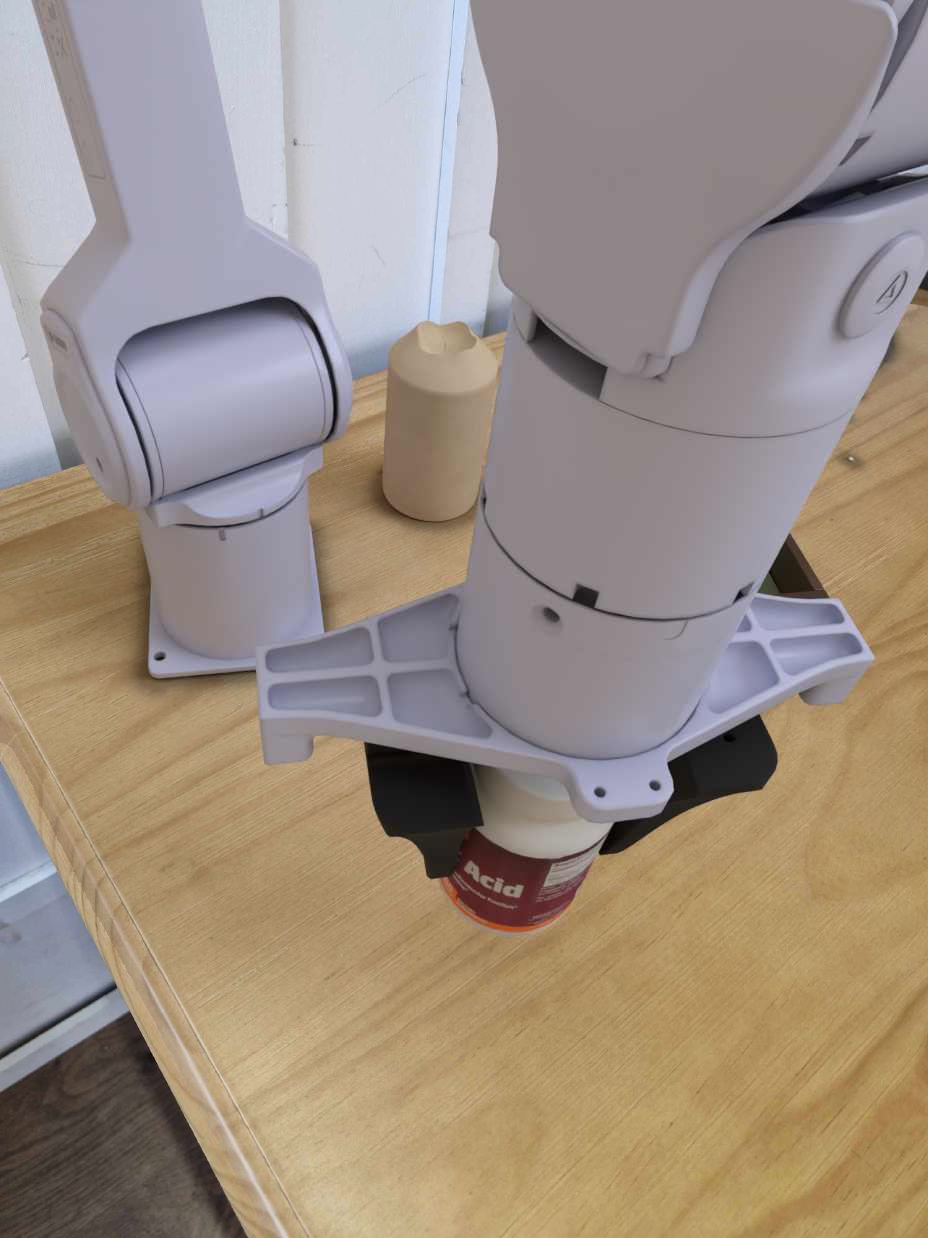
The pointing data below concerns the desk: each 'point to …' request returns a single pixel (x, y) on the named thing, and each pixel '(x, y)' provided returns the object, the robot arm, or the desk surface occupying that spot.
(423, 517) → the candle
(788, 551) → the dark brown square box
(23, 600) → the desk surface
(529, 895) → the pill bottle
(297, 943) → the desk surface
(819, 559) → the desk surface
